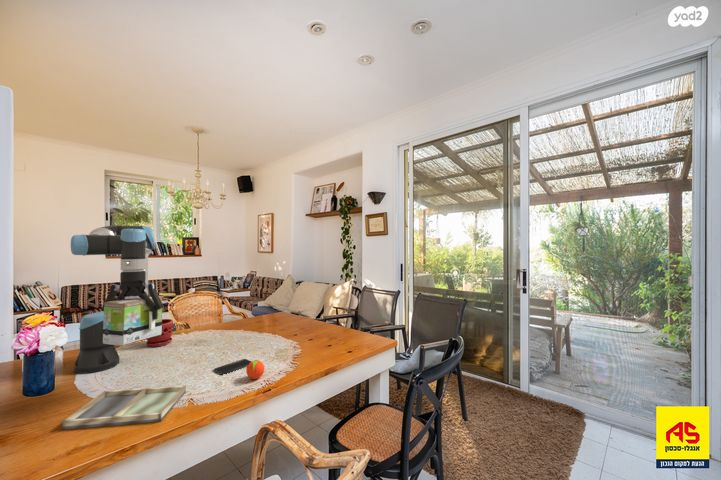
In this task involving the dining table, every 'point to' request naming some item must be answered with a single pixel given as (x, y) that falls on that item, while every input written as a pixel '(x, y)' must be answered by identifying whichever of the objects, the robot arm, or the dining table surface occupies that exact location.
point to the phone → (232, 366)
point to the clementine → (255, 369)
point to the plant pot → (162, 334)
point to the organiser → (126, 407)
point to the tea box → (128, 321)
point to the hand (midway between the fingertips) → (132, 329)
